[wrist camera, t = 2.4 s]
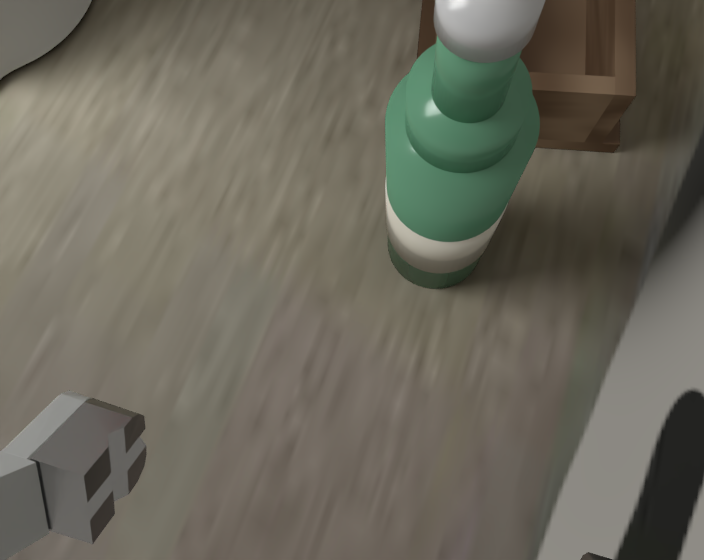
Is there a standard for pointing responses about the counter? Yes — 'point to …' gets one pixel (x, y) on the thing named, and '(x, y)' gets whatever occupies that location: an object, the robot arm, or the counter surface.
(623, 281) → the counter surface
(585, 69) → the bottle stand
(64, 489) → the robot arm
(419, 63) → the green bottle
